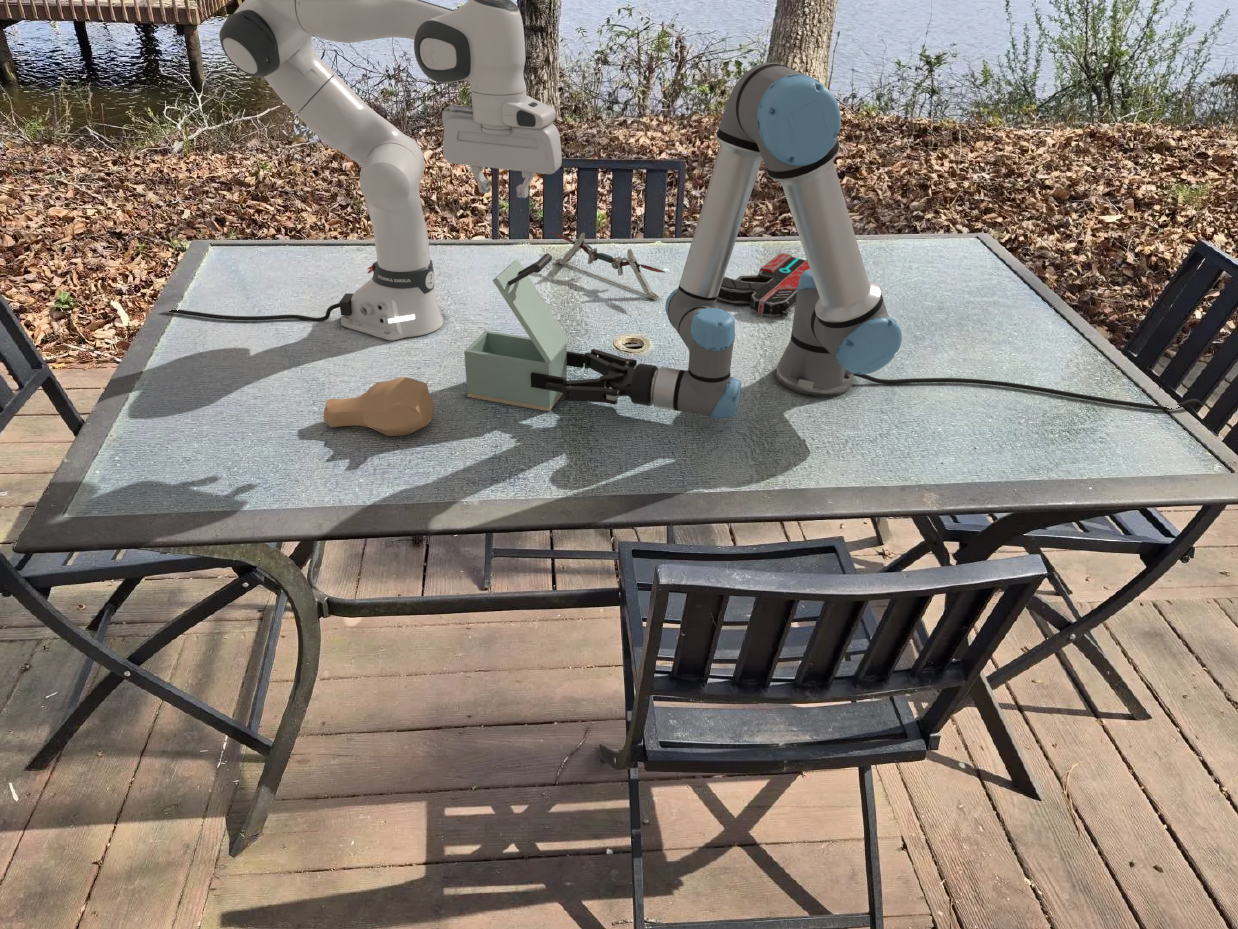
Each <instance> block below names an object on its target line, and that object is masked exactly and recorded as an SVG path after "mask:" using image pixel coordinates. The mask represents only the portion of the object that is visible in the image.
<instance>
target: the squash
mask: <svg viewBox="0 0 1238 929" xmlns="http://www.w3.org/2000/svg"><path fill="white" fill-rule="evenodd" d="M434 412H435V402H434V401H433V399H432V397H431V394H430V391H429V387H428V384H427V382H424V381H422V380H421V381H420V380H418V379H415V378H412V377H406V376H399V377H396V378H393V379H390V380H385V381H384V380H383V381H379V382H375V384H373V385H372V386H370V387H369V388H368V390H366V392H364V393H363V394H360V395H359V396H357V397H349V398H347V397H346V398H330V399H326V401H325V406H324V410H323V421H324V423H326V425H328V426H329V428H338V427H349V426H361V427H366V428H371V430H372V429H373V430H374V431H376V432H377V433H380V434H382V435H385V436H387V437H400V436H401V437H402V436H403V437H404V436H409V435H412V434H413V433H415V432H417V431H419V430H421V429H423V428H425V427H427V426H428V425H429V424H430V423H431V422H432V420H433V418H434Z"/></svg>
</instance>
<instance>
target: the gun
mask: <svg viewBox="0 0 1238 929" xmlns="http://www.w3.org/2000/svg"><path fill="white" fill-rule="evenodd" d="M808 269H810V267H809V264H808V261H807V259H802V258H799V257H795V256H793V255H792V254H791V253H784V252H780V253H778V254H777V255H775V256H774V257H773V258H771V259H770V260H768V261H767V262H766V263H765V264H763V265H762V266H761V267H760V269H759V271H758V273H757V274H756V275H753V274H752V275H751V274H750V275H740V276H738V277H737V278H735V279H734V278H731V277H727V276H725V275H724V278H723V281H722V284H721V287H720V290H719V293H718V298H717V300H719V301H723V302H727V303H730V304H750V305H749V308H750V310H751V312H753V313H755V314H757V315H758V316H760V317H761V316H765V317H770V318H771V317H777V316H780V317H784V318H787V317H788V315H789V311H788V310H790V309H791V308H792V307H793V306H795V304H796V297H797V290H798V289H797V287H798V284H799V280H800V276H801V274H802V273H803V272H804V271H806V270H808Z"/></svg>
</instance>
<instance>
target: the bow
mask: <svg viewBox="0 0 1238 929" xmlns="http://www.w3.org/2000/svg"><path fill="white" fill-rule="evenodd" d="M550 233H551V234H553V235H554V236H556V237H558V238H560V239H562V240H564V241H566V242H569V243H572V244H573V246H572V248H570V249H569V250H568V251H567V252H566V253H565V254H564V256H563V258H558V259H555V262H556V263H557V264H560V265H565V266H567V267H570V268H573V269H576V270H578V271H581V272H583V273H586V274H589V275H591V276H594V277H596V278H599V279H601V280H604V281H607V282H610V283H613V284H615V285H618V286H621V287H622V288H626V289H628V290H631V291H634V292H636V293H639V294H641V295H644V296H646V297H647V298H649V299H652V300H656V299H658V298H659V295H657V294H656V293H655V292H653V290H652V289H651V287H650V284H649V282H648V280H647V278H646V277H645V275H644V274H643V272H642V270H641V268H642V269H645V270H648V271H651V272H656V273H662V274H663V273H666V271H664V270H661V269H659V268H657V267H654V266H651V265H646V264H643V263H641V264H640V263H639V262H638V260H637V258H636V257H635V255H634V252H633V249H632V248H628V249H627V252H626V254H627V256H626V257H621V256H616V257H613V256H612V255H610V254H607V253H605V252H598V248H597V247H595V248H592V246H590V244H587V243H585V240H586V237H585V236H586V233H585V232H581V233H580V234H579V237H578V238H577V239H576V240H572V239H571V238H569V237H567V236H565V235H563V234H560V233H558V232H555V231H550ZM581 249H582V251H583V252H584V253H586V255H588V258H587V265H591V264H594V262H596V261H598V260H601V261H603V262H605V263H609V264H611V268H613V269H614V270H617V276H624V268H623V267H626V266H630V268H631V269H632V271H633V273H634V275H635V278H636V280H637V281H638V283H639V284H640V287H641V289H642V290H643V292H644V293H643V292H641V291H638V290H637V289H636V290H635V289H634V288H633V289H632V288H630V287H628V286H624V285H622V284H619V283H617V282H615V281H612V280H609V279H606V278H604V277H602V276H599V275H596V274H593V273H590V272H588V271H585V270H582V269H580V268H577V267H574V266H572V265H569V264H566V263H568V262H570V261H571V260H572V258H573V257H574V256H575V255H576V254H577V253H578V252H579V251H580V250H581Z"/></svg>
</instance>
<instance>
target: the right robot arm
mask: <svg viewBox="0 0 1238 929" xmlns="http://www.w3.org/2000/svg"><path fill="white" fill-rule="evenodd" d="M841 125H842V115H841V110H840V106H839V103H838V101H837V99H836V97H835V96H834V94H833V93H832V91H831V90H830V89H828V88H827V87H826V86H825V84H824V83H823V82H821V81H820V80H819V79H817V78H815V77H813V76H810V75H807V74H804V73H801V72H800V71H797V70H794V69H792V68H791V67H789V66H787V65H785V64H783V63H780V62H764V63H760V64H757V65H755V66H753V67H751V68H750V69H748V70H747V71H745V73H744V74H743V75H741V77H740V78H739V79H738V80H737V82H736V83H735V84H734V86H733V88H732V90H731V92H730V94H729V96H728V99H727V101H726V104H725V107H724V111H723V114H722V115H721V120H720V123H719V126H718V130H717V133H716V136H715V137H716V138H715V139H716V141H717V143H718V145H719V147H718V150H717V154H716V158H715V161H714V165H713V167H712V172H711V175H710V178H709V182H708V185H707V189H706V192H705V194H704V195H705V196H704V199H703V202H702V206H701V209H700V212H699V215H698V219H697V223H696V225H695V229H694V233H693V236H692V239H691V240H692V241H691V243H690V247H689V249H688V253H687V257H686V261H685V264H684V267H683V270H682V274H681V277H680V280H679V284H678V287H677V288H675V289H674V290H673V291H672V292H671V293H670V294H669V295H668V296H667V298H666V301H665V308H664V309H665V313H666V315H667V318H668V322H669V323H670V325H671V326H672V327H673V328H674V329H675V331H676V332H677V335H679V337H680V338H681V340H682V342H683V343H684V345H685V346H686V348H687V349H688V367H687V370H686V369H685V370H684V369H681V368H673V367H666V366H660V367H658V366H657V365H654V364H647V363H638V364H637V362H638V361H637V360H636V359H633V358H625V357H623V356H619V355H616V354H613V353H609V352H606V351H603V350H599V349H596V348H592V349H590V352H584V353H580V352H575V351H567V367H574V368H579V369H583V368H584V370H588V369H590V370H592V371H594V372H596V373H599V375H600V376H599V377H598V378H586V379H573V380H572V379H571V380H568V379H567V380H566V377H564V378H563V377H557V376H551V375H545V374H539V373H533V372H532V373H531V387H534V388H540V389H546V390H550V391H556V392H561V393H563V395H562V400H563V401H565V402H583V403H584V402H586V403H605V404H610V405H617V404H618V399H619V397H629V398H630V401H631V403H632V404H635V405H639V406H647V407H650V406H652V405H653V407H654V408H657V409H658V408H659V409H666V410H668V411H677V412H681V413H687V414H693V415H698V416H703V417H708V418H710V419H711V418H712V419H720V420H723V419H725V420H730V419H732V418H734V417H735V416H736V414H737V412H738V408H739V405H740V399H741V394H742V382H741V380H740V379H738V378H735V377H733V376H732V375H731V374H732V373H731V368H732V367H731V366H732V361H733V360H732V358H733V351H734V343H735V339H736V332H735V331H736V320H735V317H734V316H733V315H732V313H731V312H729V311H726V310H724V309H721V308H717V307H716V304H717V301H718V299H717V298H718V293H719V290H720V287H721V284H722V281H723V278H724V276H725V274H726V272H727V269H728V266H729V263H730V260H731V256H732V254H733V251H734V248H735V244H736V241H737V237H738V235H739V232H740V229H741V226H742V223H743V221H744V220H743V219H744V217H745V213H746V211H747V208H748V204H749V201H750V198H751V195H752V192H753V189H754V186H755V183H756V179H757V177H758V173H759V171H760V168H761V164H762V162H763V165H764V168H765V170H766V173H767V176H768V177H769V179H771V180H773V181H776V182H779V183H780V184H781V187H782V189H783V193H784V195H785V199H786V202H787V204H788V207H789V210H790V213H791V216H792V219H793V222H794V225H795V229H796V231H797V234H798V237H799V240H800V243H801V246H802V249H803V252H804V255H805V258H806V260H807V261H808V264H809V267H810V269H808V270H806V271H804V272H803V273H802V274H801V276H800V280H799V284H798V287H797V289H798V290H797V297H796V303H795V304H794V312H793V320H792V325H791V326H792V327H791V335H790V339H789V343H788V344H787V346H786V348H785V350H784V352H783V354H782V356H781V358H779V361H778V363H777V367H776V374H775V376H776V379H777V381H778V382H779V383H780V384H781V385H782V386H783V387H785V388H786V389H788V390H790V391H793V392H795V393H798V394H801V395H805V396H811V397H823V398H824V397H834V396H838V395H841V394H844V393H846V392H847V391H849V390H851V388H852V386H853V382H854V377H856V378H857V377H858V378H861V379H865V380H866V381H870V382H872V383H876V384H883V385H899V384H900V385H901V384H916V383H917V384H920V383H921V384H923V383H927V384H928V383H957V384H958V383H959V384H961V383H962V384H978V385H987V386H988V385H989V386H996V387H997V386H998V387H1008V388H1016V389H1022V390H1028V391H1033V392H1041V393H1046V394H1052V395H1056V396H1057V395H1058V396H1062V397H1063V396H1064V397H1069V398H1074V399H1081V400H1087V401H1093V402H1099V403H1104V404H1110V405H1116V406H1117V405H1118V406H1124V407H1125V406H1126V407H1132V408H1139V409H1147V410H1157V411H1173V410H1177V409H1181V408H1184V407H1187V406H1188V405H1192V404H1195V406H1197V407H1199V408H1204V405H1203V403H1202V402H1201V401H1200V400H1199V399H1196V398H1190V399H1187V400H1184V401H1182V402H1179V403H1176V404H1177V405H1179V406H1180V407H1178V408H1176V409H1172V408H1171V409H1169V408H1167V407H1160V406H1153V405H1154V404H1149V403H1142V402H1135V401H1129V400H1128V401H1127V400H1120V399H1113V398H1106V397H1100V396H1095V395H1088V394H1082V393H1075V392H1071V391H1066V390H1059V389H1053V388H1048V387H1043V386H1035V385H1028V384H1023V383H1017V382H1008V381H1001V380H1000V381H999V380H991V379H981V378H980V379H979V378H963V377H962V378H961V377H921V378H920V377H918V378H915V377H914V378H913V377H912V378H897V379H884V378H877V377H874V376H871V375H869V374H872V373H876V372H877V371H879V370H881V369H882V368H884V367H885V366H887V365H888V364H889V363H890V362H891V361H892V360H893V359H894V358H895V354H896V353H898V352H899V350H900V348H901V345H902V341H903V334H902V330H901V327H900V325H899V323H898V322H897V320H895V318H893V317H890V314H889V313H888V311H887V307H886V304H885V301H884V297H883V293H882V290H881V287H880V286H879V285H878V284H877V283H875V282H873V281H871V280H869V278H868V275H867V271H866V268H865V265H864V261H863V258H862V254H861V251H860V248H859V243H858V241H857V237H856V233H855V230H854V226H853V223H852V220H851V217H850V213H849V210H848V207H847V203H846V199H845V197H844V196H845V195H844V192H843V190H842V189H843V188H842V186H841V183H840V178H839V176H838V172H837V169H836V165H835V162H834V161H835V159H836V158H837V156H838V155H839V153H840V150H841V147H840V146H841V145H840V142H839V140H838V134H840V131H841Z"/></svg>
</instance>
